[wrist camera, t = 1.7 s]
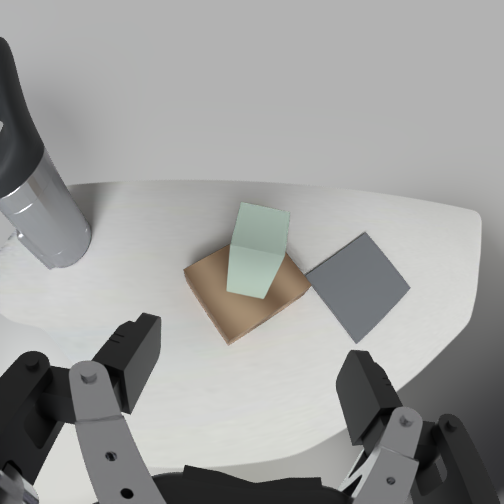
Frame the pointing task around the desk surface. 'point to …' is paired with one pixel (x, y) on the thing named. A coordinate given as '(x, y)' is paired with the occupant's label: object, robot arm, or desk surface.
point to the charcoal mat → (359, 286)
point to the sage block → (256, 249)
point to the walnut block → (237, 305)
